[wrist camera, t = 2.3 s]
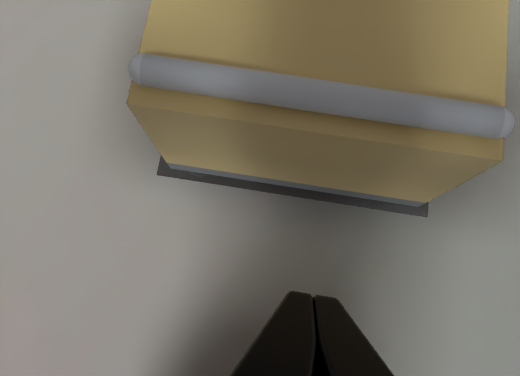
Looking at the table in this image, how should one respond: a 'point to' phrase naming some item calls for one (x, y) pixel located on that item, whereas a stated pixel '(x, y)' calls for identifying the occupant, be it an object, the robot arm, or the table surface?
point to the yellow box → (327, 92)
